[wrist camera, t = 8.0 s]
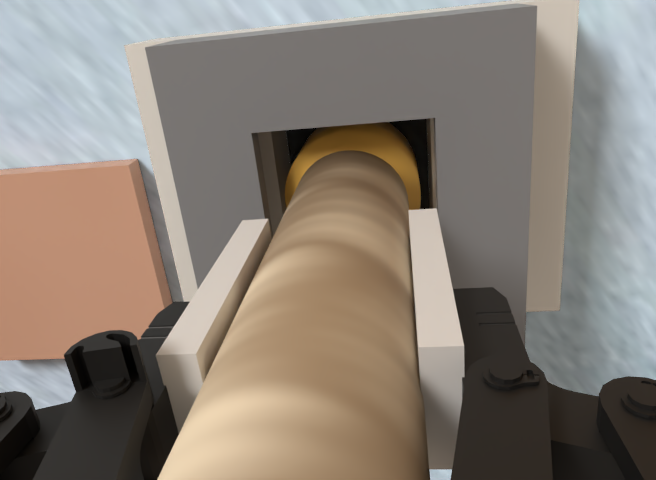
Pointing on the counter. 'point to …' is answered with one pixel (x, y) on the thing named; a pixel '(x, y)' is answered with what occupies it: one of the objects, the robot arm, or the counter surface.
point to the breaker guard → (373, 107)
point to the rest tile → (75, 257)
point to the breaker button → (359, 137)
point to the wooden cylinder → (319, 345)
